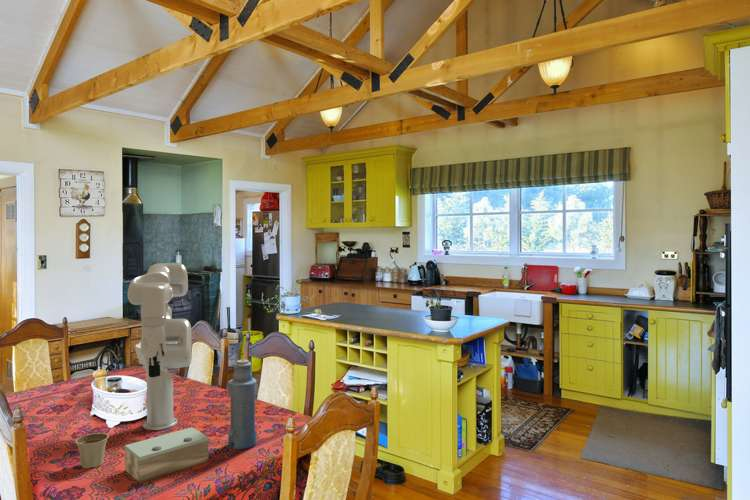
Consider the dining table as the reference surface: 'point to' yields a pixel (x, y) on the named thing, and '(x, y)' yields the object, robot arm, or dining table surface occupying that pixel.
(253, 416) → the bottle
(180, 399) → the dining table surface
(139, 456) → the lid
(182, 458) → the box
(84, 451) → the flower pot
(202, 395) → the dining table surface
